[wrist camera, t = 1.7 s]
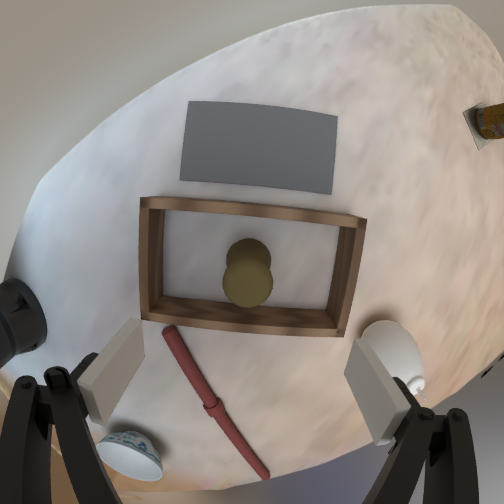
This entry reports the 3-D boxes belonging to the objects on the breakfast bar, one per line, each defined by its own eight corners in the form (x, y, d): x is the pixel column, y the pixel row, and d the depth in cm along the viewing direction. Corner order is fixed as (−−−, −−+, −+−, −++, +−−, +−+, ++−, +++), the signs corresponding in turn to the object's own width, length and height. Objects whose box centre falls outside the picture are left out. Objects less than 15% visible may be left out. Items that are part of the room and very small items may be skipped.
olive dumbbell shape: (240, 229, 36) (235, 246, 26) (279, 252, 37) (290, 277, 26) (218, 268, 37) (205, 298, 27) (256, 289, 38) (258, 326, 27)
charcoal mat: (180, 180, 35) (179, 180, 34) (189, 102, 32) (188, 101, 32) (330, 194, 35) (331, 194, 35) (336, 117, 33) (337, 116, 32)
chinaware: (107, 408, 44) (94, 432, 37) (174, 434, 45) (166, 461, 38) (108, 441, 47) (97, 463, 40) (165, 464, 48) (158, 487, 41)
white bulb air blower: (344, 325, 40) (392, 401, 22) (387, 300, 39) (452, 361, 21) (358, 359, 41) (401, 434, 23) (397, 336, 40) (453, 400, 23)
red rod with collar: (161, 327, 40) (155, 336, 37) (178, 321, 40) (173, 331, 37) (259, 473, 49) (259, 482, 46) (272, 470, 49) (272, 480, 46)
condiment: (496, 136, 32) (539, 132, 21) (478, 150, 33) (524, 146, 21) (482, 102, 31) (523, 91, 19) (461, 112, 32) (507, 100, 20)
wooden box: (155, 302, 39) (141, 319, 33) (157, 196, 35) (140, 197, 29) (331, 317, 39) (343, 337, 33) (349, 214, 36) (367, 219, 30)
